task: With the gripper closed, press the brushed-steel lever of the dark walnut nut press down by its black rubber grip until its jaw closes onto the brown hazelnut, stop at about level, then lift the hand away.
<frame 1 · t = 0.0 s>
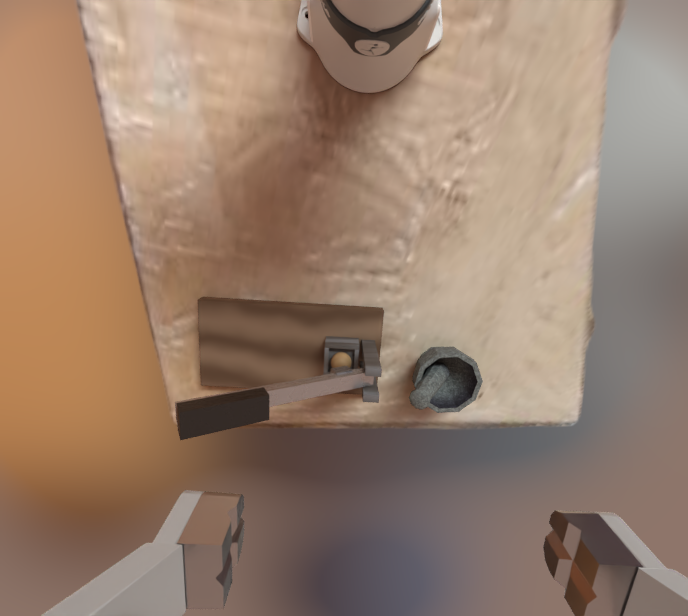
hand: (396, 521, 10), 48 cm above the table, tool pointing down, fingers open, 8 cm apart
lever: (287, 393, 44), point 16 cm above the table, hinge at -30.0°
nut: (341, 362, 54), point 6 cm above the table, touching press base
mortar and pestle: (432, 364, 60), on the table
press base: (291, 344, 59), on the table
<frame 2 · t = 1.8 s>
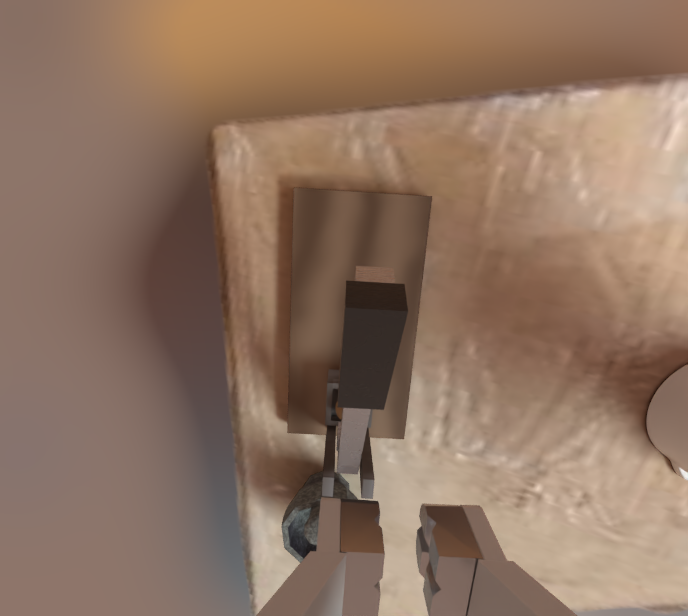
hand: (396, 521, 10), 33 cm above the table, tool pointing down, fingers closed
lever: (357, 403, 27), point 16 cm above the table, hinge at -30.0°
nut: (349, 408, 39), point 6 cm above the table, touching press base
mortar and pestle: (326, 485, 49), on the table
press base: (353, 319, 43), on the table
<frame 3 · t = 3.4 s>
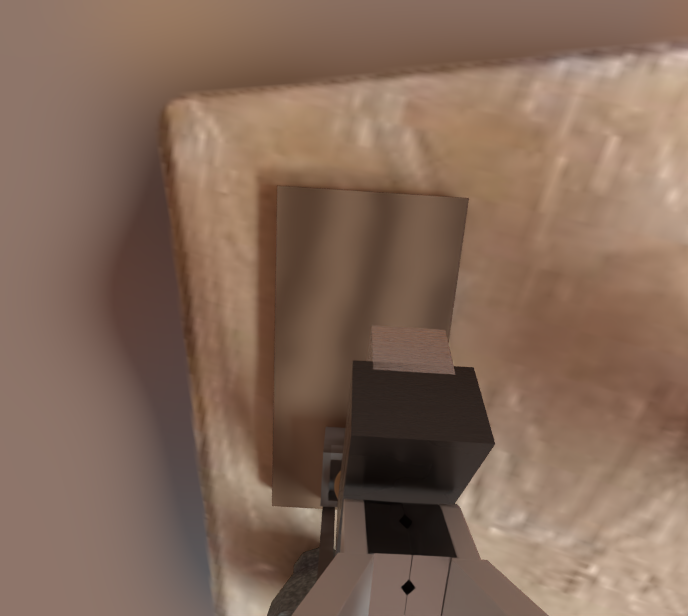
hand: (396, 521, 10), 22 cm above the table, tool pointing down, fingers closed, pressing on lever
lever: (367, 522, 17), point 16 cm above the table, hinge at -28.0°, touching gripper
mortar and pestle: (323, 564, 38), on the table
press base: (358, 360, 32), on the table
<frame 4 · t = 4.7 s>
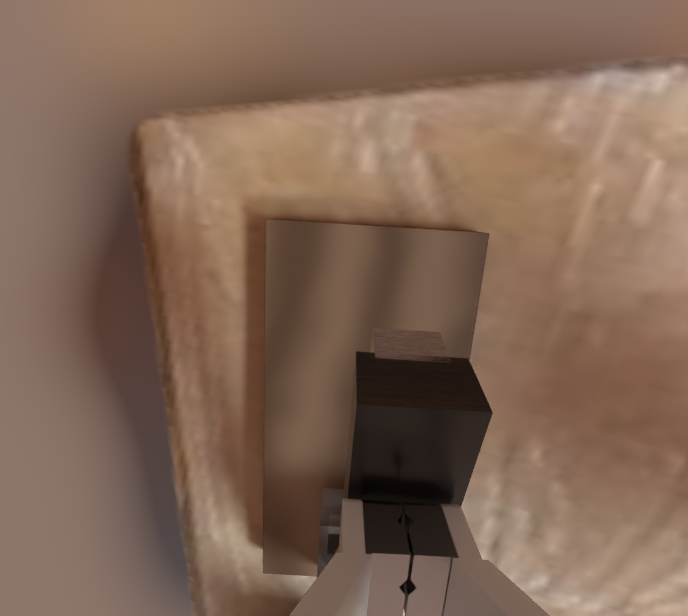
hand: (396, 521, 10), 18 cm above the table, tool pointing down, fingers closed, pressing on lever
lever: (370, 581, 16), point 13 cm above the table, hinge at -14.3°, touching gripper
press base: (360, 410, 29), on the table
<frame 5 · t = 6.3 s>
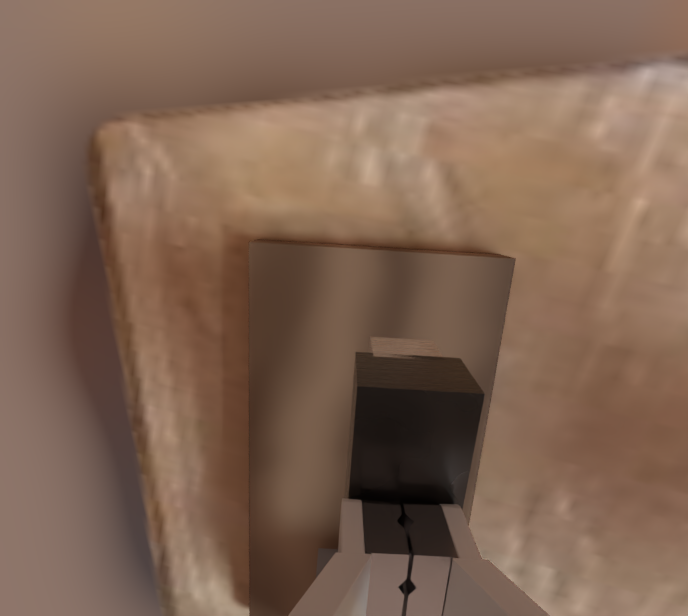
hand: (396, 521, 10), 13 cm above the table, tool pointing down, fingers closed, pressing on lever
press base: (361, 457, 25), on the table
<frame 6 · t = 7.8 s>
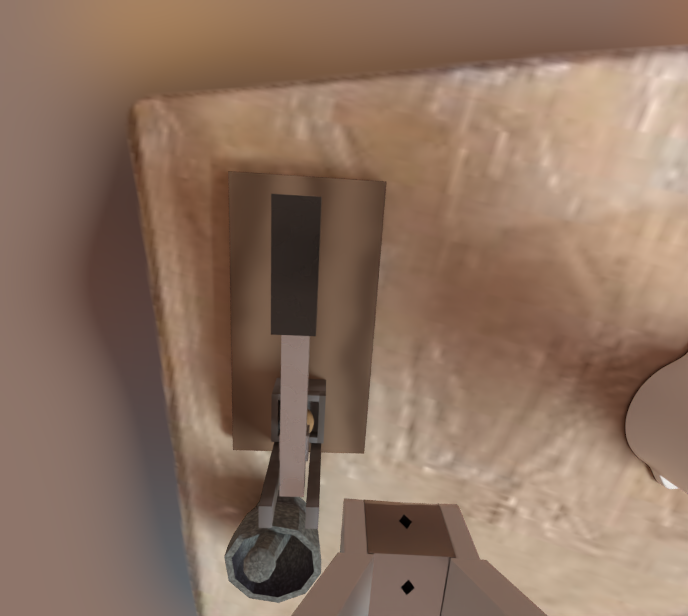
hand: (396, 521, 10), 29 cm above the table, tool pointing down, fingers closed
lever: (295, 362, 28), point 11 cm above the table, hinge at -2.6°
nut: (297, 422, 34), point 6 cm above the table, touching press base
mortar and pestle: (281, 505, 44), on the table
press base: (304, 321, 38), on the table
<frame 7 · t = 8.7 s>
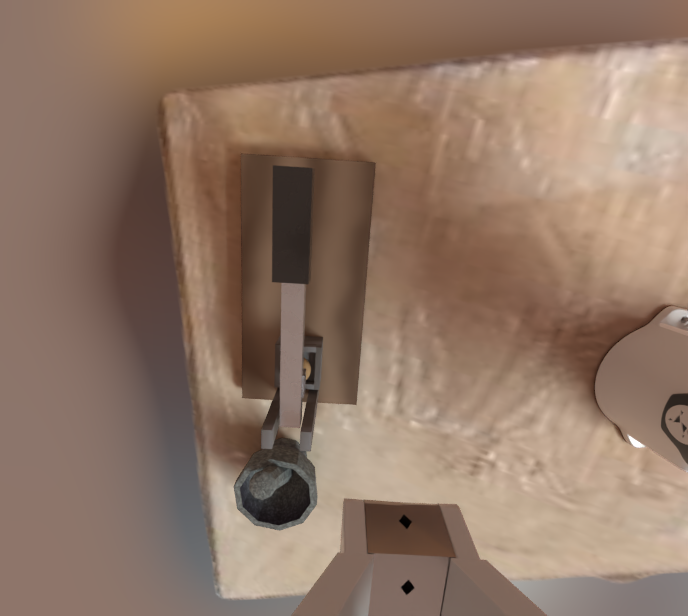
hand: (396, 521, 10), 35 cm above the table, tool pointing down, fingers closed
lever: (292, 310, 33), point 11 cm above the table, hinge at -2.6°
nut: (296, 369, 40), point 6 cm above the table, touching press base
mortar and pestle: (284, 452, 50), on the table
press base: (305, 286, 44), on the table
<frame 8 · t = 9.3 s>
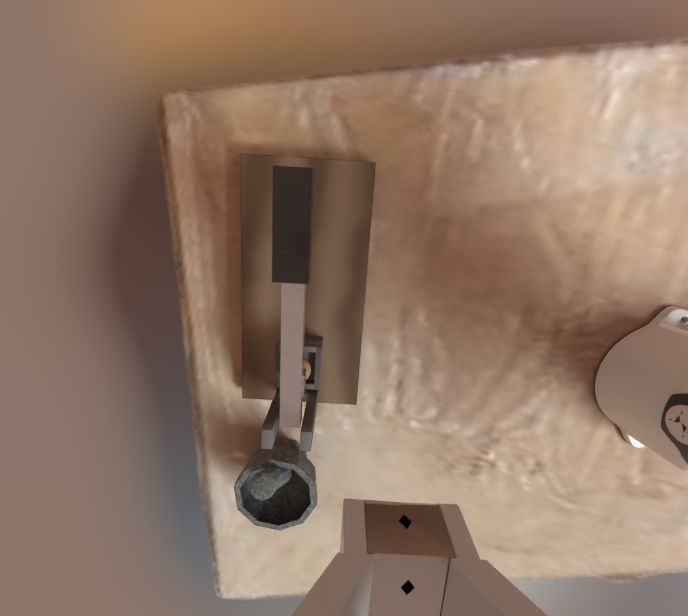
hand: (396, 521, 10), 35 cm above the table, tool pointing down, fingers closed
lever: (293, 310, 33), point 11 cm above the table, hinge at -2.6°
nut: (297, 369, 40), point 6 cm above the table, touching press base
mortar and pestle: (284, 452, 50), on the table
press base: (305, 286, 44), on the table
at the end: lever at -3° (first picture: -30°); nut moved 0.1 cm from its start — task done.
